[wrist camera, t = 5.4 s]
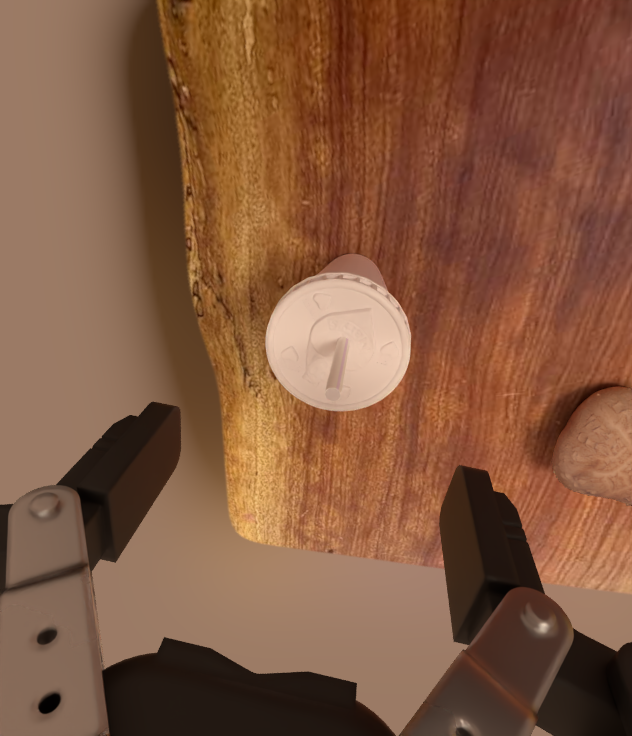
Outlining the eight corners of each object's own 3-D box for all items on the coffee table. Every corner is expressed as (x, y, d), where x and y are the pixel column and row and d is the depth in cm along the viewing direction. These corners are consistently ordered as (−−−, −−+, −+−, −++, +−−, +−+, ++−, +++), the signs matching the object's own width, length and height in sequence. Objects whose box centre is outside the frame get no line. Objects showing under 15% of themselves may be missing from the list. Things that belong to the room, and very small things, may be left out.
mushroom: (640, 496, 32) (737, 430, 26) (624, 558, 28) (734, 496, 22) (543, 431, 34) (612, 358, 29) (515, 479, 31) (589, 406, 25)
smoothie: (427, 274, 27) (459, 395, 15) (361, 349, 30) (342, 503, 17) (341, 207, 26) (299, 277, 13) (281, 292, 29) (201, 413, 16)
